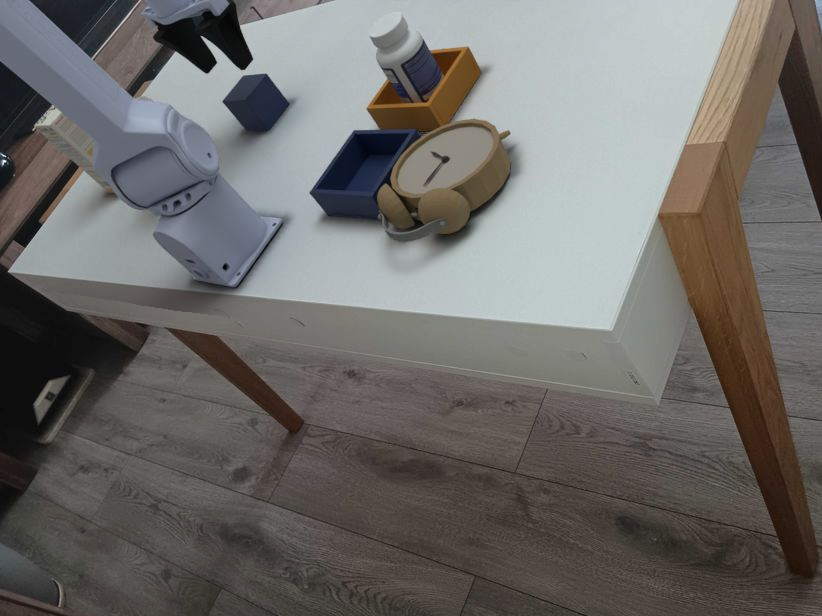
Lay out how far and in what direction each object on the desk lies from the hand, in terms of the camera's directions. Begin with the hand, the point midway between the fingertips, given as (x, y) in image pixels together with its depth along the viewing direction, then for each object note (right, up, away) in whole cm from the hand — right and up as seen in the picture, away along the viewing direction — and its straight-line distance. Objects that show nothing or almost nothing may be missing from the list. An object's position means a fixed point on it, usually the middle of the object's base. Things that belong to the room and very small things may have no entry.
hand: (229, 66), depth 94 cm
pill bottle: (+26, -8, -10) cm, 29 cm away
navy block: (+3, -5, +6) cm, 8 cm away
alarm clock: (+28, -21, -22) cm, 42 cm away
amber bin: (+26, -8, -10) cm, 29 cm away
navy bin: (+21, -18, -15) cm, 31 cm away
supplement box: (-19, -10, +15) cm, 26 cm away
